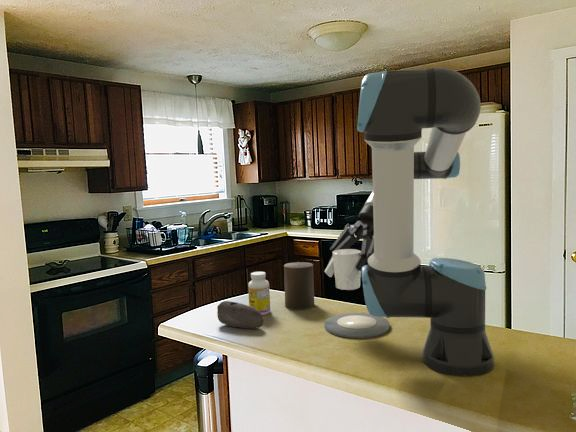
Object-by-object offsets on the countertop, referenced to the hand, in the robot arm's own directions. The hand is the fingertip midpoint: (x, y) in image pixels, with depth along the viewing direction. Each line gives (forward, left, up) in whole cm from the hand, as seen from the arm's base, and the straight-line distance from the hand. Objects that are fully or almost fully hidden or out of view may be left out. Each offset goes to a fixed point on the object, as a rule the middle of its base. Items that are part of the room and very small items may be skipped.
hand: (338, 276), depth 130 cm
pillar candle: (+25, +13, -16) cm, 32 cm away
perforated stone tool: (+4, +28, -16) cm, 33 cm away
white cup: (+3, -3, -4) cm, 5 cm away
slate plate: (+4, -5, -15) cm, 16 cm away
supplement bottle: (+17, +25, -16) cm, 34 cm away
